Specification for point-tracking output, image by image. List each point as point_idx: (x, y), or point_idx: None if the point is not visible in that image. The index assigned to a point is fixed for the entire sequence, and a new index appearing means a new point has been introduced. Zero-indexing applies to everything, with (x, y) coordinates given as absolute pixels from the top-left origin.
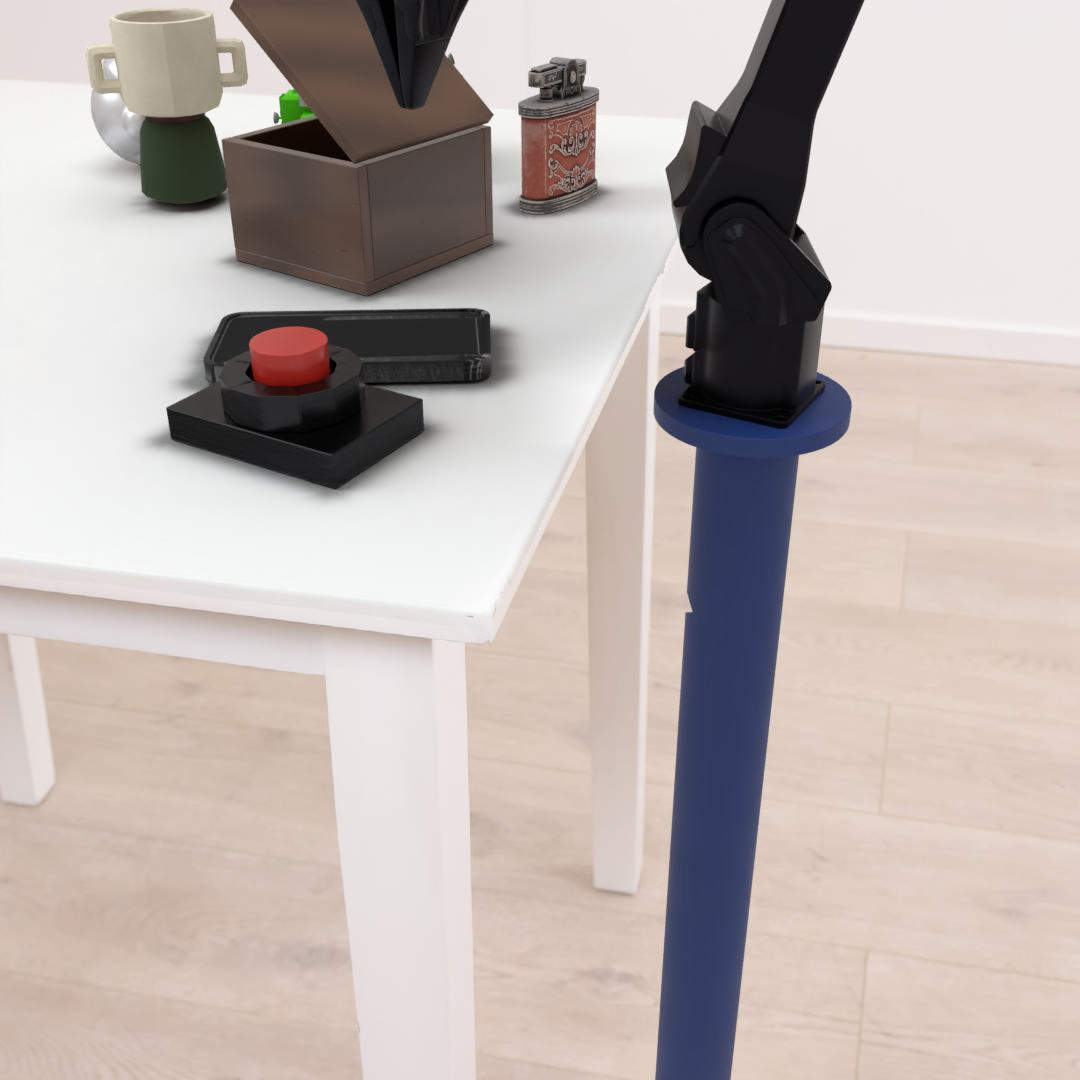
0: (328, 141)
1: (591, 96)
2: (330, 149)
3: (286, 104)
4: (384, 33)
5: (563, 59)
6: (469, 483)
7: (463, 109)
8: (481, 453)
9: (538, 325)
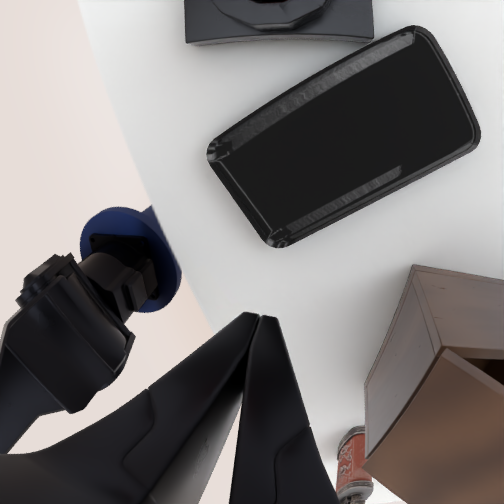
0: None
1: None
2: None
3: None
4: (249, 434)
5: None
6: (127, 13)
7: (380, 463)
8: (143, 47)
9: (246, 267)
